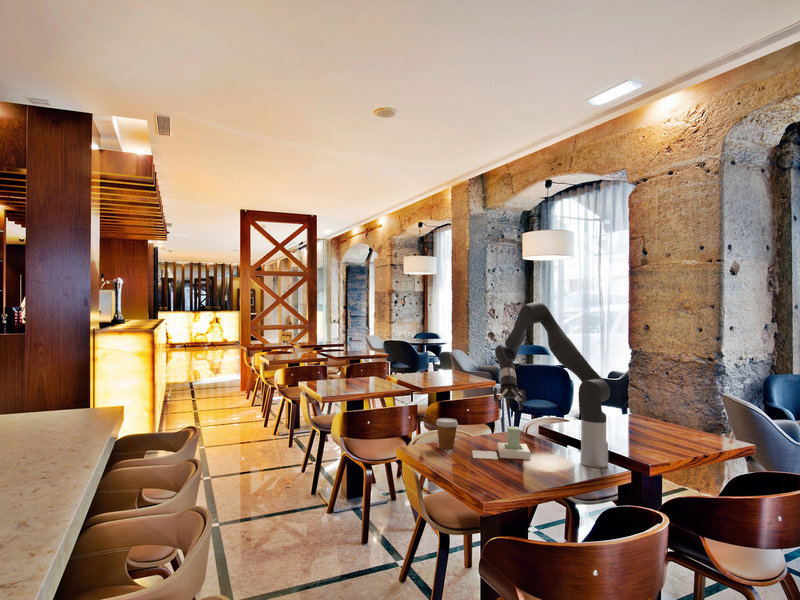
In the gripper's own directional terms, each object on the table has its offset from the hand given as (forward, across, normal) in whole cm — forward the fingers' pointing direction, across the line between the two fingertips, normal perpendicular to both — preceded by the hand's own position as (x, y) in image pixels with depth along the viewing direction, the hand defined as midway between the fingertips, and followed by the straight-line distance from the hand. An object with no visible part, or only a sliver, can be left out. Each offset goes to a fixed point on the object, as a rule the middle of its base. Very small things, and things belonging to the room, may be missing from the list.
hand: (510, 408), depth 207 cm
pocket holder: (+20, 0, +3) cm, 20 cm away
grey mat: (+23, -12, +1) cm, 26 cm away
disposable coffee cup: (+18, -28, +6) cm, 33 cm away
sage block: (+20, 0, +3) cm, 20 cm away
